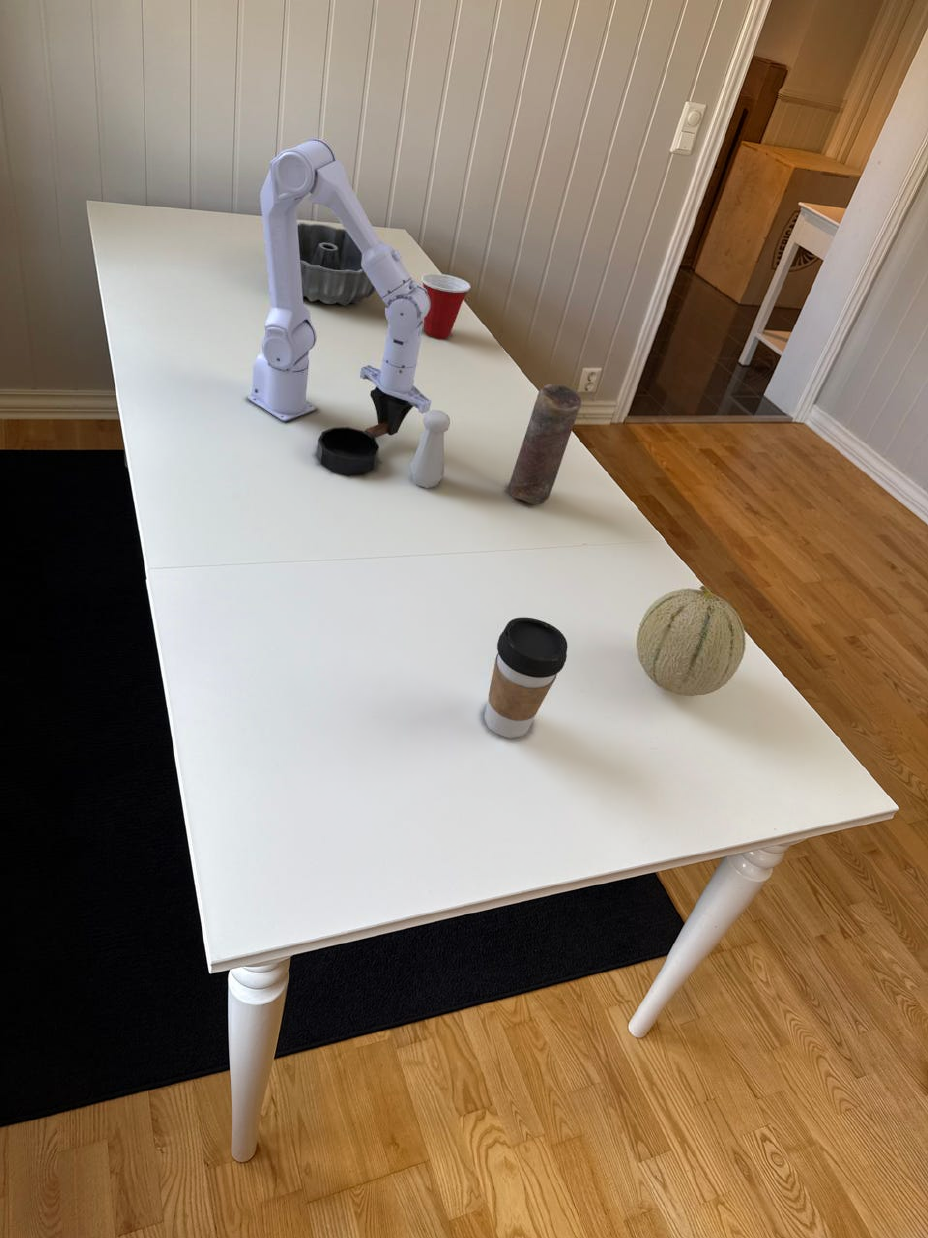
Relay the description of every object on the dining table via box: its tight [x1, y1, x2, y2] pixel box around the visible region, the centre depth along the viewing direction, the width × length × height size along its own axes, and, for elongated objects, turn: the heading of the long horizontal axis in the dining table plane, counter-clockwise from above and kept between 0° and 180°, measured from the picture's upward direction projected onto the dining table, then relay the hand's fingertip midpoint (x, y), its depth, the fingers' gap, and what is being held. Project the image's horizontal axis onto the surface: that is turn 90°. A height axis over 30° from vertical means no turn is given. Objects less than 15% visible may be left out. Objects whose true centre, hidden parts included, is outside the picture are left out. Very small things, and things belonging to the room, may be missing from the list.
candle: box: [507, 383, 582, 505], centre depth 147 cm, size 8×7×20 cm
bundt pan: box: [297, 222, 377, 306], centre depth 198 cm, size 26×26×10 cm
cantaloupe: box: [636, 585, 747, 697], centre depth 121 cm, size 15×15×15 cm
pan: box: [315, 420, 389, 476], centre depth 152 cm, size 17×10×4 cm, turn 143°
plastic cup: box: [420, 273, 471, 340], centre depth 193 cm, size 11×11×12 cm
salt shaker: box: [409, 409, 451, 489], centre depth 146 cm, size 6×6×13 cm
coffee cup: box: [484, 617, 568, 739], centre depth 108 cm, size 8×8×15 cm
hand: (388, 430), depth 156 cm, fingers closed on pan, 2 cm apart
